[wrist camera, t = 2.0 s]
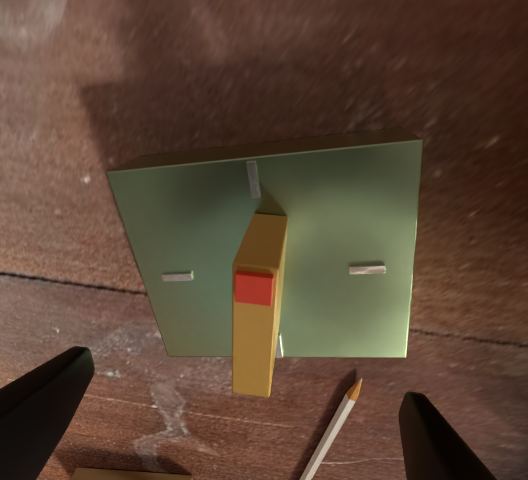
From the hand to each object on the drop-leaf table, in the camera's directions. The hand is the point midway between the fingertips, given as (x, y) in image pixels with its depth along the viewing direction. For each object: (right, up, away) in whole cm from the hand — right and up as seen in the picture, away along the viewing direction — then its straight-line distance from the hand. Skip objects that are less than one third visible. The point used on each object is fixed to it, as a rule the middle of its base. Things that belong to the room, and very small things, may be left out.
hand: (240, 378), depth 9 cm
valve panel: (+1, +4, +8) cm, 9 cm away
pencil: (+4, -12, +15) cm, 20 cm away
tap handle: (+1, +2, +5) cm, 6 cm away
